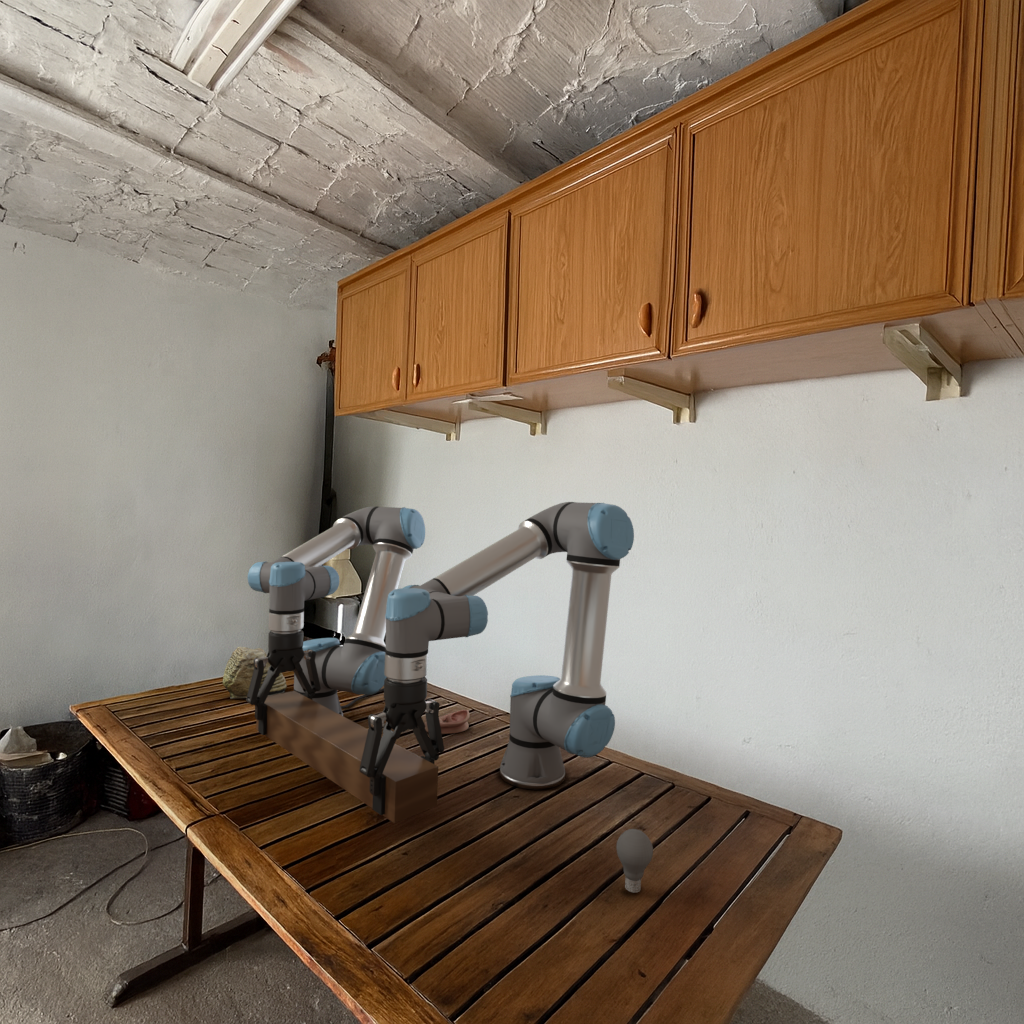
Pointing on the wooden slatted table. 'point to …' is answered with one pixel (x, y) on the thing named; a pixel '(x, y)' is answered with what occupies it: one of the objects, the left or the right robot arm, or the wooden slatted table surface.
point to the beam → (349, 754)
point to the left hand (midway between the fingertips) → (283, 727)
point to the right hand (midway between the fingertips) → (402, 802)
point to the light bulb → (634, 857)
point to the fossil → (247, 673)
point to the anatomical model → (453, 722)
